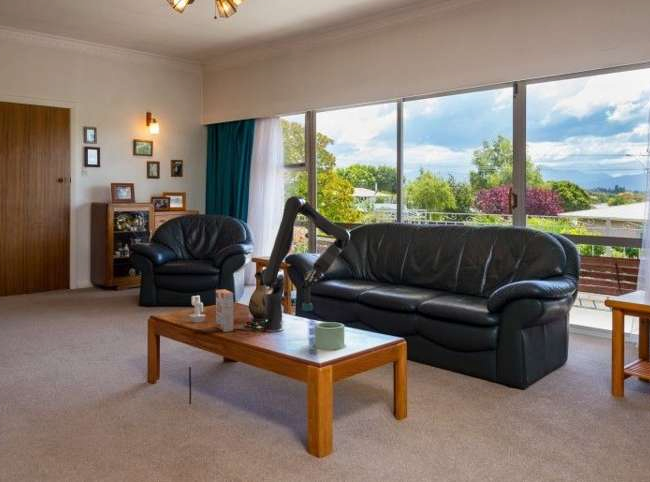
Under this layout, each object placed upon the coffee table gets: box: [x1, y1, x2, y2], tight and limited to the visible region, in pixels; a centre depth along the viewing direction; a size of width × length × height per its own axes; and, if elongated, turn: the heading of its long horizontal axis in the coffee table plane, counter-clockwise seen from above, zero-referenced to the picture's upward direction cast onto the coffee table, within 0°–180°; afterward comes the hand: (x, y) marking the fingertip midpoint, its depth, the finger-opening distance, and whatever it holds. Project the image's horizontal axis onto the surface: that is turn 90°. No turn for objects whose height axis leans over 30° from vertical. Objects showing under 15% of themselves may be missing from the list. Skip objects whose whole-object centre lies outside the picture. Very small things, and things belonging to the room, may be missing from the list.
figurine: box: [188, 295, 207, 323], centre depth 325 cm, size 7×9×15 cm
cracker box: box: [215, 289, 234, 333], centre depth 304 cm, size 14×6×21 cm, turn 27°
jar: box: [314, 321, 345, 351], centre depth 269 cm, size 14×14×10 cm
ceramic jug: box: [248, 268, 269, 321], centre depth 333 cm, size 17×15×30 cm
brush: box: [301, 279, 313, 312], centre depth 276 cm, size 5×5×15 cm
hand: (303, 288), depth 275 cm, fingers closed on brush, 2 cm apart
